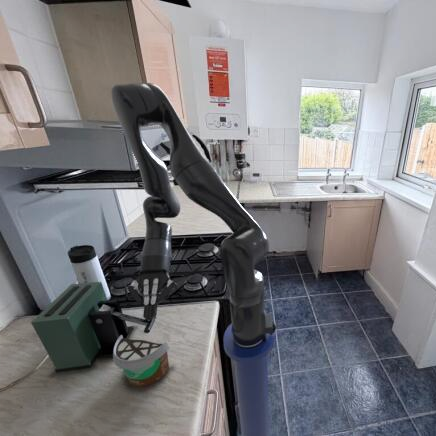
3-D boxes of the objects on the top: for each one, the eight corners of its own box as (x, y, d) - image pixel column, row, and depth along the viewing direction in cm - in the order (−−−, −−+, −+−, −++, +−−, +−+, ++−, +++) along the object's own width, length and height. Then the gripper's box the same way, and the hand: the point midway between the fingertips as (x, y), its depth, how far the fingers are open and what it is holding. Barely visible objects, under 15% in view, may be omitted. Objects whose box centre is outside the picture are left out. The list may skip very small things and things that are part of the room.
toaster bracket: (134, 328, 68) (122, 293, 64) (118, 356, 60) (104, 319, 55) (115, 330, 68) (102, 295, 63) (97, 359, 59) (80, 322, 55)
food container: (108, 388, 53) (95, 358, 49) (129, 363, 59) (119, 334, 55) (158, 397, 52) (148, 367, 48) (175, 370, 57) (167, 341, 53)
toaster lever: (154, 320, 66) (157, 314, 66) (147, 335, 62) (151, 328, 61) (103, 307, 62) (106, 300, 61) (92, 321, 57) (95, 314, 57)
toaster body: (117, 324, 70) (102, 280, 63) (90, 368, 57) (67, 318, 51) (89, 327, 68) (70, 282, 62) (55, 372, 56) (28, 322, 50)
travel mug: (102, 291, 82) (84, 242, 75) (115, 296, 80) (98, 245, 73) (82, 303, 77) (60, 251, 69) (96, 308, 75) (75, 255, 67)
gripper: (125, 255, 65) (114, 323, 58) (176, 252, 67) (171, 317, 61) (138, 261, 72) (129, 322, 65) (183, 258, 74) (179, 316, 68)
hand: (149, 319), depth 63 cm, fingers closed
